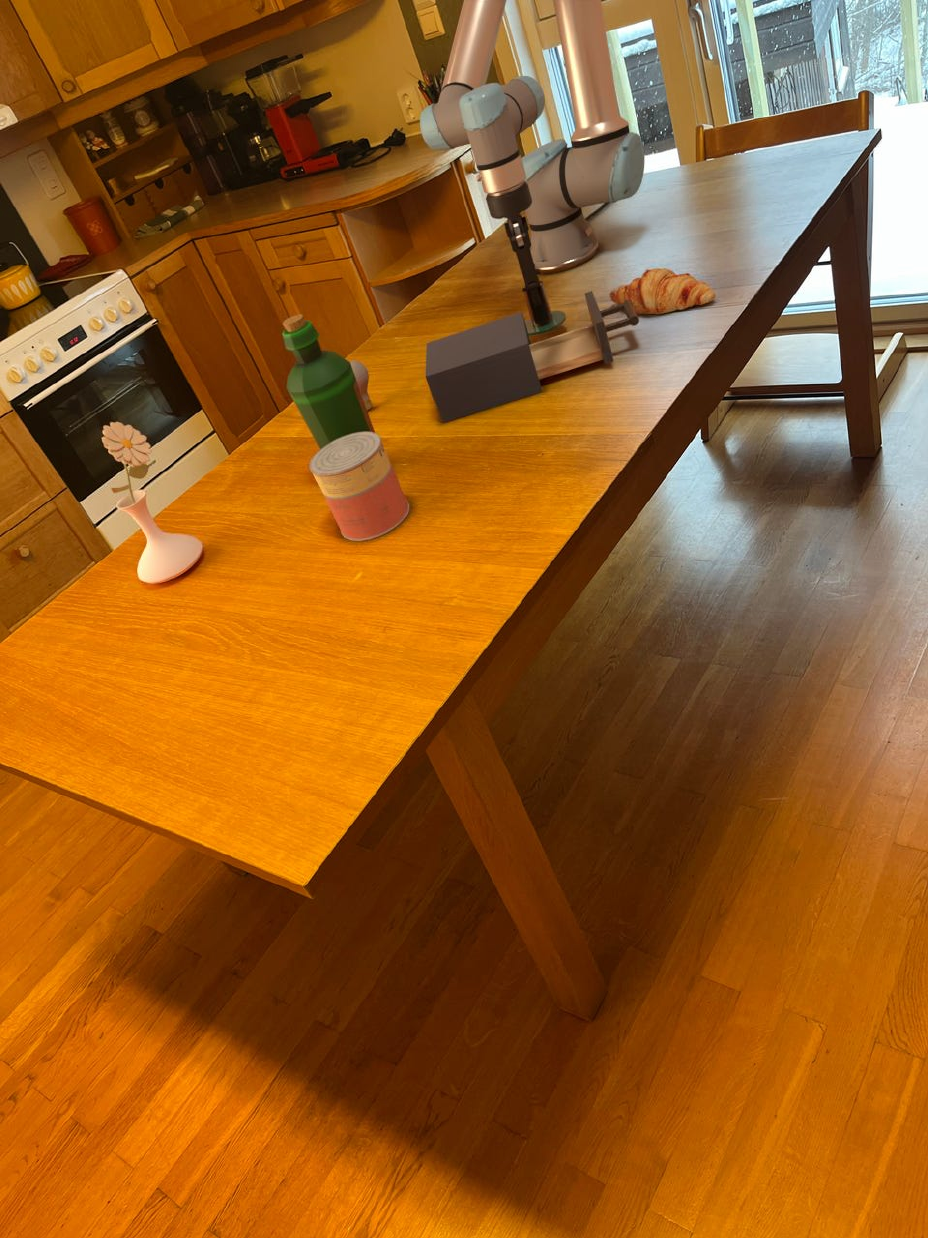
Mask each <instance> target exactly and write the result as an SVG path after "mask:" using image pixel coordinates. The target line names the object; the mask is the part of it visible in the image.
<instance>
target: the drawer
mask: <svg viewBox="0 0 928 1238" xmlns="http://www.w3.org/2000/svg"><path fill="white" fill-rule="evenodd" d="M584 297H585V302H586V306H587V310H588V315H589V318H590V322H591V324H589V325H585V326H583V327H580V328H576V329H573V330H569V331H567V332H564V333H561V334H558V335H555V336H552V337H551V336H550V337H549V338H546V339H543V340H539V341H537V342H533V343H531V344H530V345H529V347H530V351H531V354H532V358H533V361H534V364H535V368H536V371H537V375H538V378H539V380H540V381H541V380H543V379H545V378H548V377H552V376H555V375H559V374H562V373H565V372H568V371H571V370H574V369H577V368H580V367H583V366H586V365H590V364H593V363H597V362H600V361H603V362H604V364H605V365H606V364H609V363H612V362H614V358H613V354H612V349H611V345H610V341H609V337H608V333H609V332H612V331H615V330H619V329H621V328H624V327H628V326H632V327H634V326H637V325H638V324H639V323H640V318H639V315H638V313H636V312H635V310H634V308H633V305H632V303H631V302H630V301H629V300H625V301H624V302H623V303H622V304H620V305H618V304H617V305H614V306H610V307H608V308H605V309H602V310H600V308H599V305H598V302H597V300H596V297H595V295H594V292H593V291H592V290H591V291H587V292H584ZM623 311H624V313H625V315H626V318H624V319H620V320H617V321H615V322H611V323H607V324H605V321H604V318H605V317H608V316H611V315H614V314H617V313H620V312H623Z"/></svg>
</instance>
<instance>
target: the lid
mask: <svg viewBox="0 0 928 1238" xmlns="http://www.w3.org/2000/svg"><path fill="white" fill-rule="evenodd" d="M539 282H540V286H541V289H542V293H543V297H544V300H545V304H546V308H547V311H548V315H549V320H546V321H543V322H540V323H537V324H535V320H534V317H533V313H532V310H531V306H530V303H529V299H528V296H527V292H526V291H525V292H523V291H522V294H523V298H524V300H525V304H526V308H527V311H528V316H529V318H528V319H526V320H524V321H525V324H526V327H527V331H528V334H529V337H530V336H538V335H543V334H546V333H549V332H551V331H554V330H555V329H557V328H559V327H560V326H562V325H563V324H564V323H565V322H566V320H567V314H566V313H565V312H564V311H563V310H551V306H550V302H549V298H548V295H547V291H546V287H545V284H544V281H543V280H539ZM524 287H525V285H523V286H522V288H524Z"/></svg>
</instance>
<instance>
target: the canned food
mask: <svg viewBox="0 0 928 1238" xmlns="http://www.w3.org/2000/svg"><path fill="white" fill-rule="evenodd" d="M308 465H309V466H308V467H309V470H310V472H311V473H312V475H313V476H314V479H315V481H316V482H317V485H318V487H319V489H320V491H321V493H322V495H323V496H324V499H325V502H326V503H327V505H328V507H329V509H330V512H331V513H332V515H333V517H334V519H335V522H336V524H337V525H338V527H339V530H340V532H341V535H342V536H343V537H344V538H345V539H347V540H350V541H354V542H362V541H369V540H373V539H377V538H378V537H381V536H383V535H385V534H387V533H390V532H391V531H393V530H394V529H396V528H397V527H398V526H399V525H401V523H402V522H403V521H404V520H405V519H406V518H407V516H408V515H409V512H410V503H409V501H408V500H407V498H406V496H405V493H404V491H403V489H402V487H401V484H400V481H399V479H398V477H397V475H396V473H395V470H394V467H393V465H392V462H391V461H390V458H389V456H388V454H387V451H386V449H385V447H384V445H383V442H382V438H381V436H380V435H379V434H378V433H376V432H375V433H373V432H357V433H353V434H349V435H346V436H343V437H341V438H338V439H336V440H334V441H332V442H331V443H329V444H327V445H326V446H324V447H323V448H322V449H320V448H319V450H318V451H317V452H316V453H314V455H312V457H311V459H310V461H309V464H308Z"/></svg>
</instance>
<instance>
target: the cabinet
mask: <svg viewBox="0 0 928 1238" xmlns="http://www.w3.org/2000/svg"><path fill="white" fill-rule="evenodd" d="M525 321H526V320H525V318H524V313H523V311H519V312H517V313H514V314H510V315H507V316H504V317H502V318H498V319H495V320H491V321H489V322H487V323H483V324H480V325H477V326H474V327H472V328H471V327H470V328H468V329H465V330H462V331H459V332H456V333H454V334H450V335H448V336H444V337H442V338H438V339H435V340H431V341H429V342H426V353H425V380H426V383H427V386H428V388H429V390H430V394H431V395H432V398H433V401H434V404H435V407H436V409H437V412H438V414H439V417H440V420H441V422H442V424H444V423H447V422H452V421H455V420H457V419H458V420H459V419H460V418H464V417H467V416H469V415H474V414H477V413H480V412H482V411H483V412H484V411H486V410H489V409H493V408H495V407H498V406H502V405H505V404H508V403H512V402H515V401H518V400H522V399H525V398H527V397H531V396H534V395H537V394H541V393H543V389H542V383H541V379H540V380H539V378H538V375H537V371H536V368H535V364H534V361H533V358H532V354H531V351H530V347H529V345H530V344H532V341H531V338H530V336H529V334H528V331H527V327H526V324H525Z"/></svg>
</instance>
